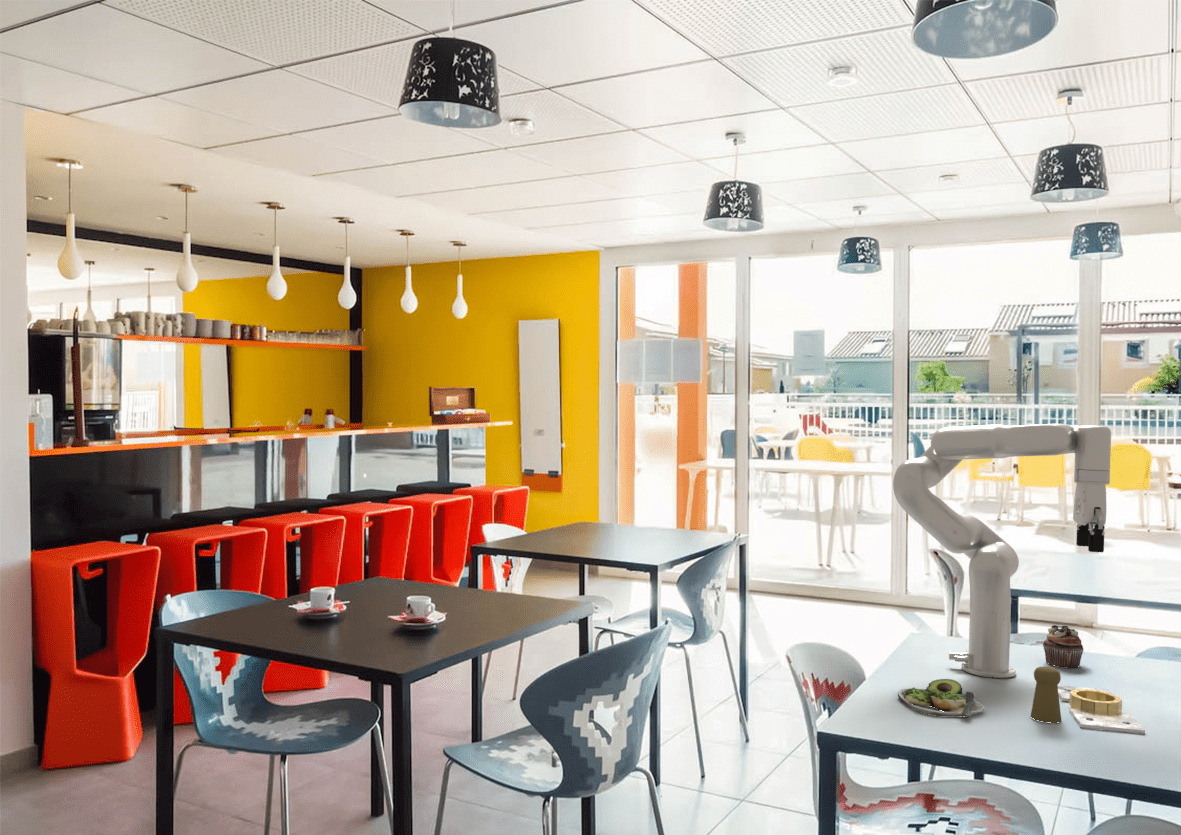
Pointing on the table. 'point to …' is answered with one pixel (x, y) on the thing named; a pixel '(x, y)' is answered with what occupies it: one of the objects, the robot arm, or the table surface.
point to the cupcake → (1063, 647)
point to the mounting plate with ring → (1098, 709)
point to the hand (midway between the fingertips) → (1089, 548)
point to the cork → (1046, 695)
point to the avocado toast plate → (942, 699)
